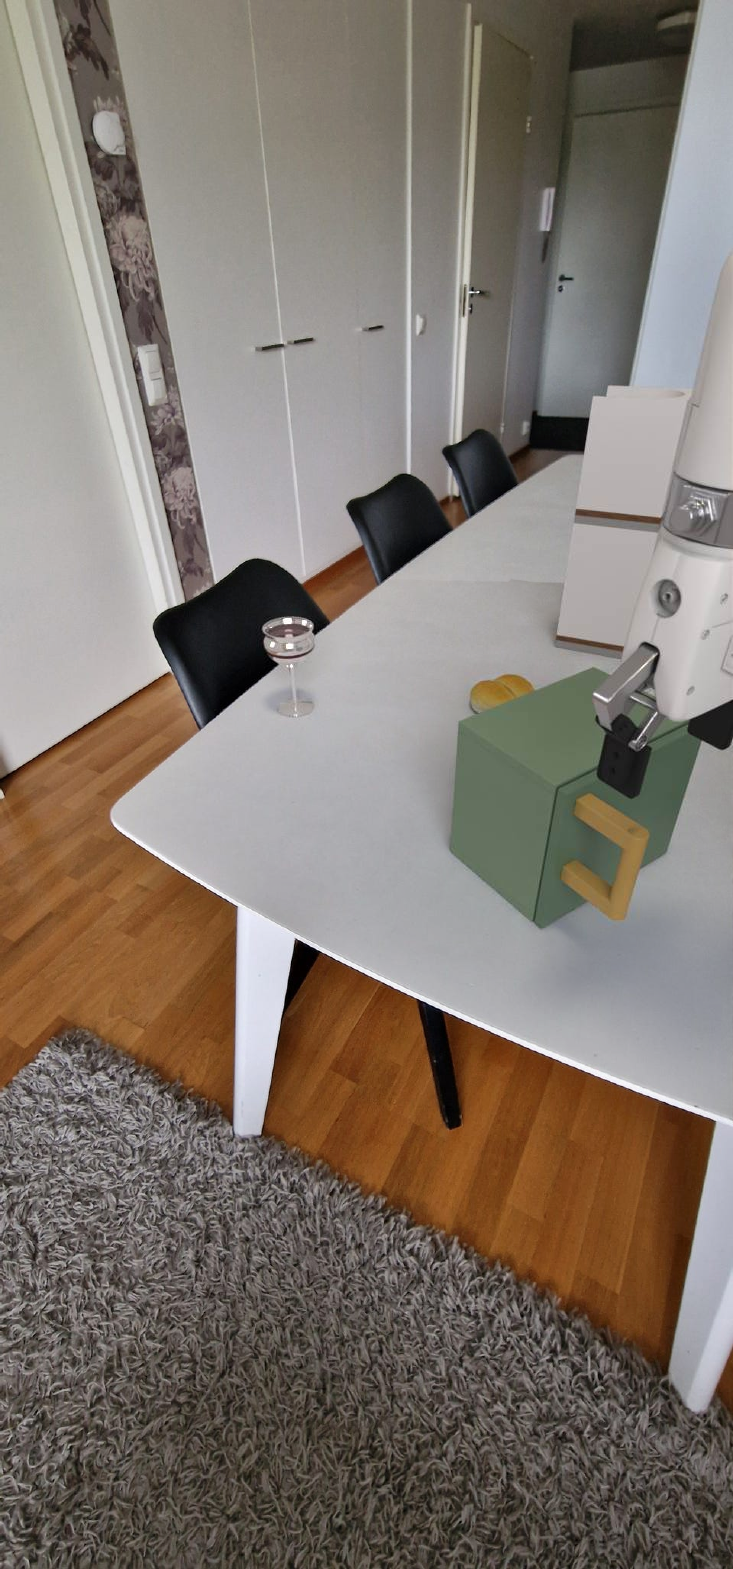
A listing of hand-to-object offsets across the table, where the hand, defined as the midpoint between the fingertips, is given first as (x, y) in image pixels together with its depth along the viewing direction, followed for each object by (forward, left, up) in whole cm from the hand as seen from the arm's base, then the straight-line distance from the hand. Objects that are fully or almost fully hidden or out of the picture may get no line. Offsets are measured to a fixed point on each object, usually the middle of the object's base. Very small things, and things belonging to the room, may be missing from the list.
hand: (663, 763), depth 49 cm
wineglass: (+52, +15, -21) cm, 58 cm away
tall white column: (+55, -36, -21) cm, 69 cm away
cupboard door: (+5, -6, -21) cm, 22 cm away
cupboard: (+14, -3, -21) cm, 26 cm away
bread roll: (+42, -12, -21) cm, 49 cm away
